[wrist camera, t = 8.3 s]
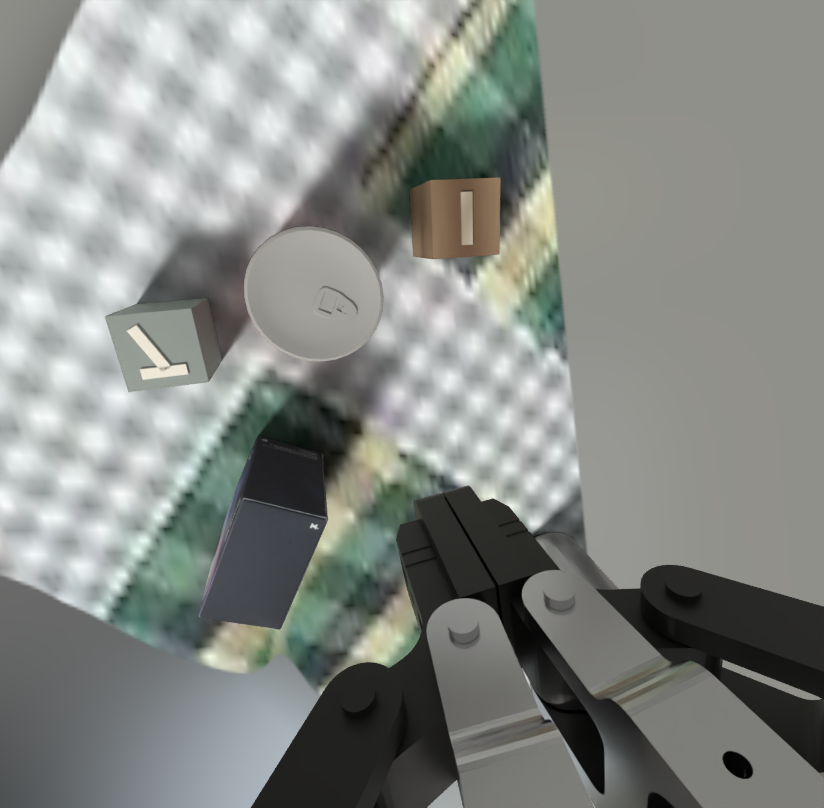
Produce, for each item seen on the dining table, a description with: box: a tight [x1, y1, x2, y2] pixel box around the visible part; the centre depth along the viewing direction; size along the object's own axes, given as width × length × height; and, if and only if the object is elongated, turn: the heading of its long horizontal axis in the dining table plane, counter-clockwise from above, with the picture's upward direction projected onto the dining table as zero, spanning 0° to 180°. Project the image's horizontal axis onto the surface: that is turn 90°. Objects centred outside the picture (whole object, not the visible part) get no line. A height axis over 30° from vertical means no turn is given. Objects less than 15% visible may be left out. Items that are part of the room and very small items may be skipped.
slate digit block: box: [105, 298, 222, 392], centre depth 31 cm, size 5×5×6 cm
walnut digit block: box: [410, 178, 500, 259], centre depth 33 cm, size 5×5×6 cm
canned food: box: [244, 226, 384, 362], centre depth 30 cm, size 8×8×11 cm
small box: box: [199, 436, 328, 629], centre depth 36 cm, size 11×6×10 cm, turn 155°
